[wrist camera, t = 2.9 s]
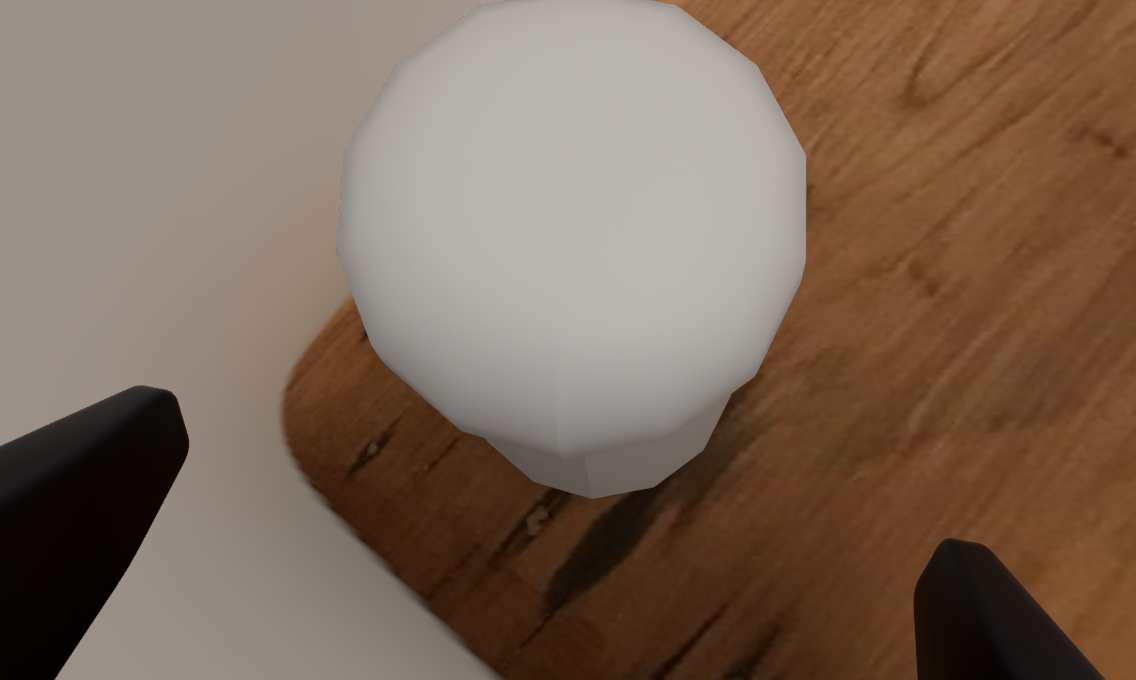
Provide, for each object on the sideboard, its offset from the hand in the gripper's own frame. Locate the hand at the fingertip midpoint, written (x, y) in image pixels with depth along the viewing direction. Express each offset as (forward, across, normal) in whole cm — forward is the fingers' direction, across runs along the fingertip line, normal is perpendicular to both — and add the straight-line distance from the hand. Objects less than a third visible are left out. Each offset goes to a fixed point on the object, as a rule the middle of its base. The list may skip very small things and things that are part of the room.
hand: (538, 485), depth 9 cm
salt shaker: (+9, 0, +5) cm, 10 cm away
